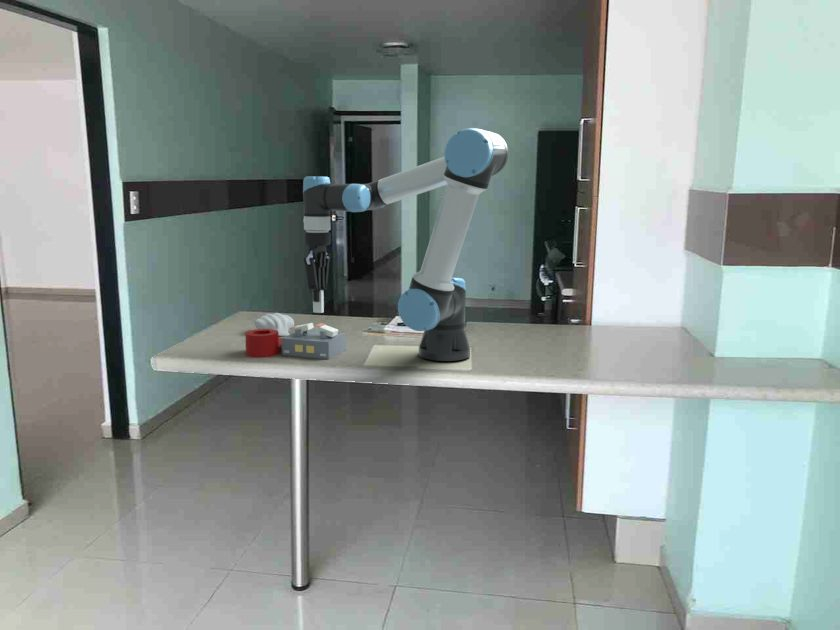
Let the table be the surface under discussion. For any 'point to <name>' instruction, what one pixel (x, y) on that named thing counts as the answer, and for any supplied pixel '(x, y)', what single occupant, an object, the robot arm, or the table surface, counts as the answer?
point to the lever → (263, 343)
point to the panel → (313, 344)
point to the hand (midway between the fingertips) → (318, 312)
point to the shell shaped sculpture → (275, 323)
